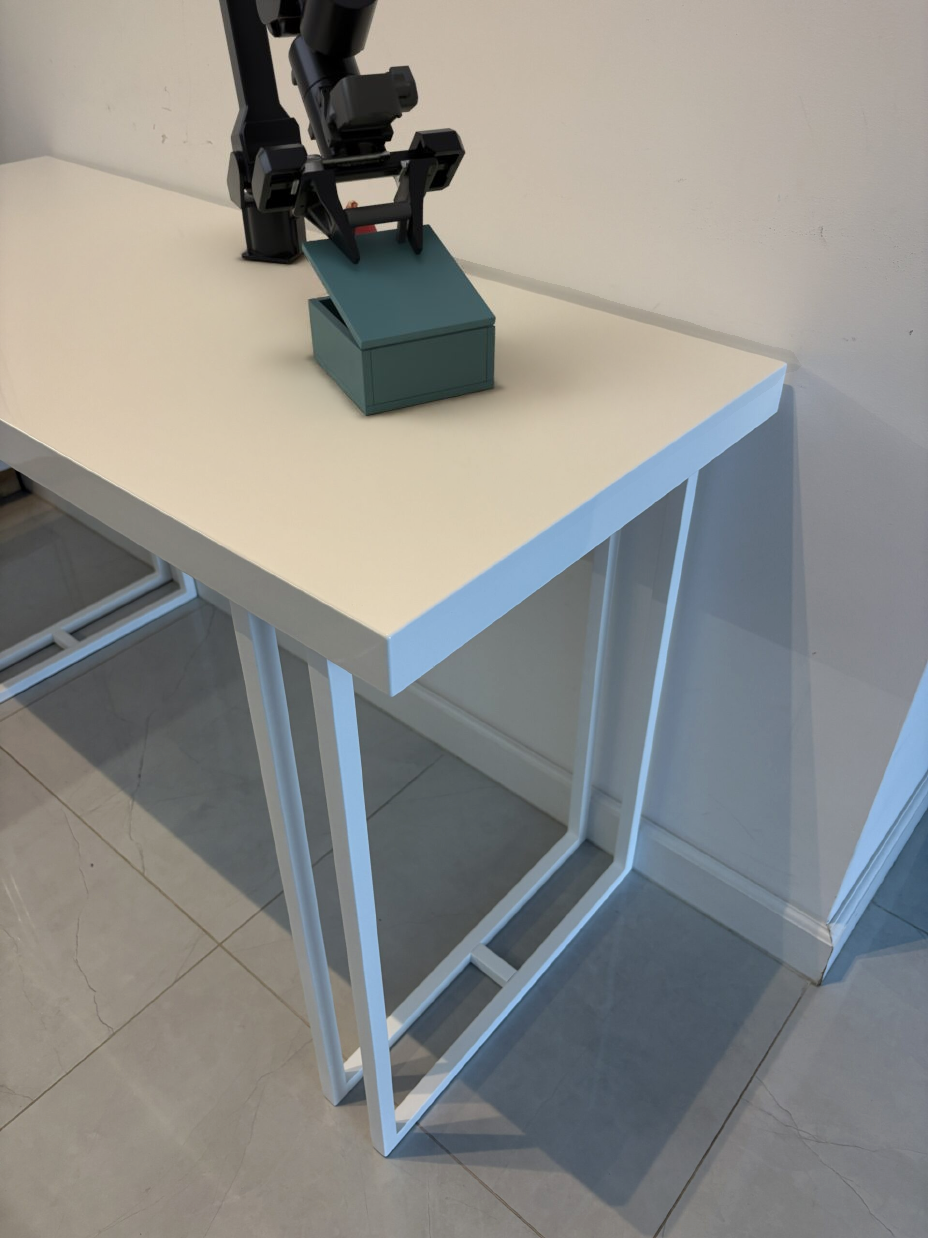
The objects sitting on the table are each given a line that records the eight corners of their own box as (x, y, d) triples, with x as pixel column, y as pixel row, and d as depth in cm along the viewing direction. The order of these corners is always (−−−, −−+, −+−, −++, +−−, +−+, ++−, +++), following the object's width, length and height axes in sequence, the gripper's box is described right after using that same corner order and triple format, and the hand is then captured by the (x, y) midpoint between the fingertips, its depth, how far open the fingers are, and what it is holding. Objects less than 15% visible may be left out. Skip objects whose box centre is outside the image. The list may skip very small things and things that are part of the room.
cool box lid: (301, 249, 84) (301, 201, 81) (428, 231, 89) (433, 184, 85) (360, 350, 77) (363, 302, 74) (495, 324, 82) (503, 279, 78)
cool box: (313, 358, 90) (307, 298, 87) (431, 335, 95) (430, 278, 91) (365, 415, 81) (361, 351, 77) (494, 387, 85) (495, 325, 82)
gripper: (240, 35, 73) (302, 218, 72) (455, 22, 79) (514, 190, 78) (229, 128, 83) (283, 290, 82) (420, 110, 90) (471, 260, 89)
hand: (388, 256), depth 83 cm, fingers closed on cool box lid, 6 cm apart
